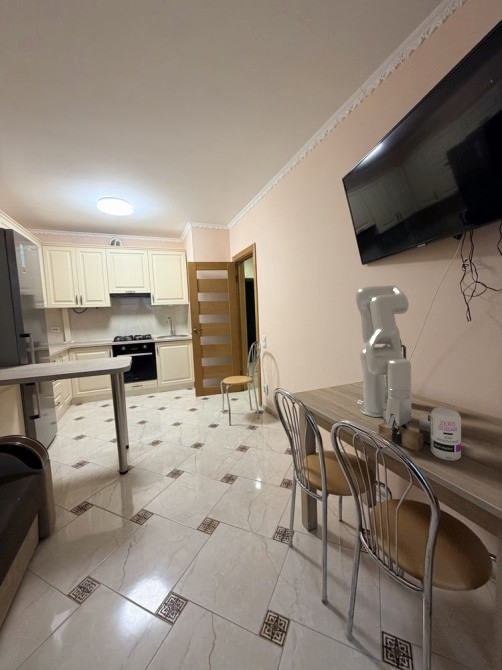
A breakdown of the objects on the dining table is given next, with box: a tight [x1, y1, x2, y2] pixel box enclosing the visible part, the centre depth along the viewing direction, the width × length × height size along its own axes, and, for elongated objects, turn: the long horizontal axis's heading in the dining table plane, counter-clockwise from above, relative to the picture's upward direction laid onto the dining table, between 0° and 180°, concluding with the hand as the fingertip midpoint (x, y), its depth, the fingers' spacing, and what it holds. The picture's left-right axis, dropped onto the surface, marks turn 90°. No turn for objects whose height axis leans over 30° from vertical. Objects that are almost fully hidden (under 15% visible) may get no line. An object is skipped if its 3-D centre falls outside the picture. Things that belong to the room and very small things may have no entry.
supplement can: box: [430, 407, 462, 462], centre depth 89 cm, size 8×8×15 cm
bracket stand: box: [383, 408, 431, 445], centre depth 105 cm, size 19×8×8 cm, turn 35°
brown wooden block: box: [378, 421, 424, 452], centre depth 100 cm, size 14×4×5 cm, turn 35°
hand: (400, 440), depth 100 cm, fingers closed on brown wooden block, 4 cm apart
